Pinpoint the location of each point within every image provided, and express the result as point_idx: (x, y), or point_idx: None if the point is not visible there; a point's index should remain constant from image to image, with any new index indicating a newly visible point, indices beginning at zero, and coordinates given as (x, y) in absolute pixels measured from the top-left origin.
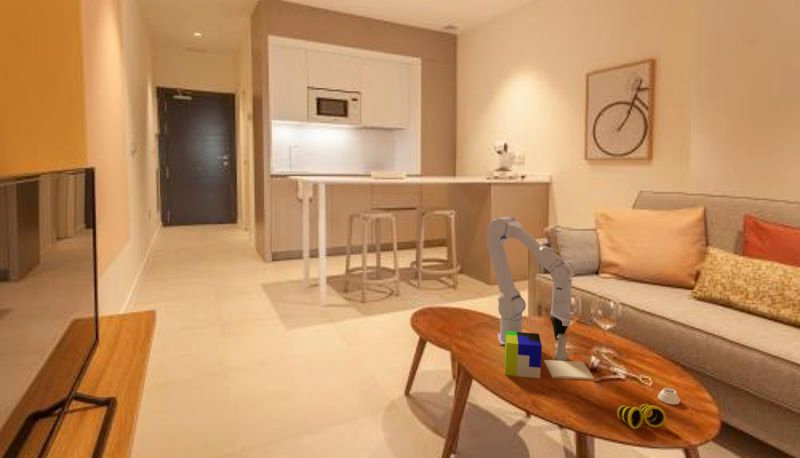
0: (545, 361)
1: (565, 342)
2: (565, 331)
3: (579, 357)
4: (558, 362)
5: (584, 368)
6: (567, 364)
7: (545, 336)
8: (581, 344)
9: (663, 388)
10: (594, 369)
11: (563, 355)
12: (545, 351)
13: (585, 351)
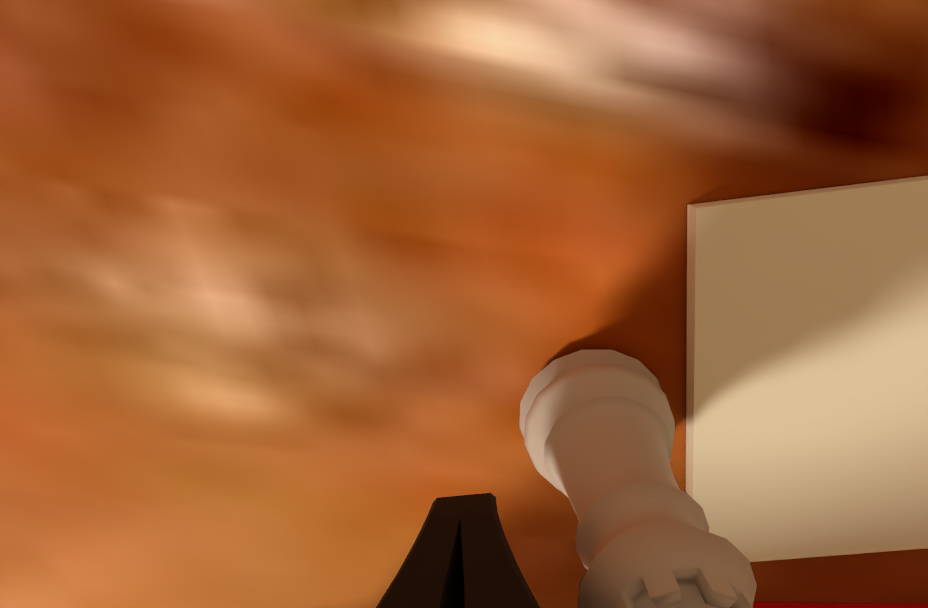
0: None
1: (675, 505)
2: (534, 600)
3: (512, 210)
4: (741, 455)
5: (885, 220)
6: (786, 381)
7: (18, 476)
8: (77, 116)
9: None
10: (839, 93)
11: (669, 426)
12: None
13: (301, 104)
